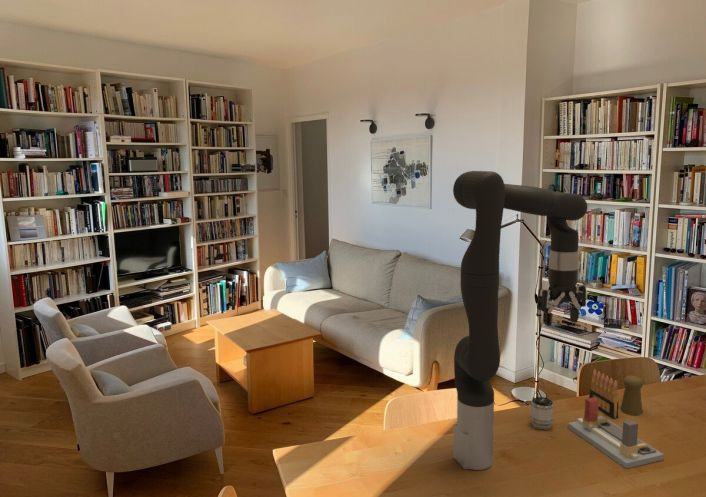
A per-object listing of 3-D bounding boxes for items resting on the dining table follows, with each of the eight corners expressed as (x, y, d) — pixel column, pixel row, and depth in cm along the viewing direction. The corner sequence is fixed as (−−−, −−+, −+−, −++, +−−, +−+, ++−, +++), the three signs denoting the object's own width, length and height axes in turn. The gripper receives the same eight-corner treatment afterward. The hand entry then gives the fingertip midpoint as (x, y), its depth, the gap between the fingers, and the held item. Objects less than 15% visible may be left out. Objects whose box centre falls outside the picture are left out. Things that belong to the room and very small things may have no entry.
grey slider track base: (626, 468, 136) (628, 430, 134) (567, 427, 157) (569, 394, 155) (663, 459, 140) (666, 422, 138) (601, 420, 160) (603, 387, 159)
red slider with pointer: (589, 429, 151) (590, 402, 150) (582, 425, 153) (583, 398, 152) (609, 425, 153) (611, 398, 152) (603, 421, 156) (604, 394, 154)
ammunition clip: (618, 418, 162) (620, 380, 160) (613, 419, 161) (615, 381, 159) (593, 402, 172) (595, 367, 170) (588, 403, 171) (590, 368, 169)
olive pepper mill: (643, 409, 167) (645, 375, 165) (641, 417, 162) (644, 382, 160) (621, 404, 170) (623, 371, 168) (619, 412, 165) (621, 378, 163)
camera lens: (526, 425, 159) (527, 400, 157) (535, 417, 163) (536, 393, 162) (547, 432, 155) (548, 406, 153) (556, 424, 159) (557, 399, 158)
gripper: (550, 271, 142) (547, 330, 145) (594, 267, 146) (591, 324, 149) (532, 266, 149) (530, 322, 152) (575, 262, 153) (572, 316, 156)
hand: (560, 323), depth 150 cm, fingers open, 8 cm apart
